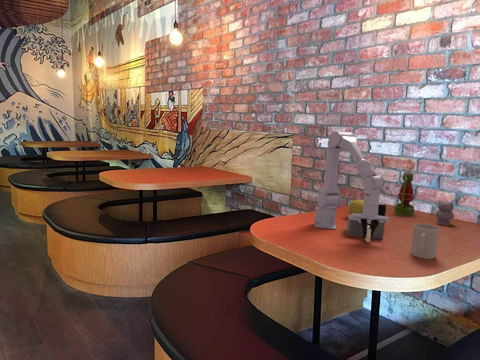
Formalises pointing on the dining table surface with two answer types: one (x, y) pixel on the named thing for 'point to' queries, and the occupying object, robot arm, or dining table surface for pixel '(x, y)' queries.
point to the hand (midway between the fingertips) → (367, 237)
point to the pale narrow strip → (368, 234)
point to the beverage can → (381, 209)
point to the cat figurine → (444, 212)
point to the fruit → (356, 207)
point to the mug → (424, 241)
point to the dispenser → (356, 228)
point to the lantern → (405, 195)
